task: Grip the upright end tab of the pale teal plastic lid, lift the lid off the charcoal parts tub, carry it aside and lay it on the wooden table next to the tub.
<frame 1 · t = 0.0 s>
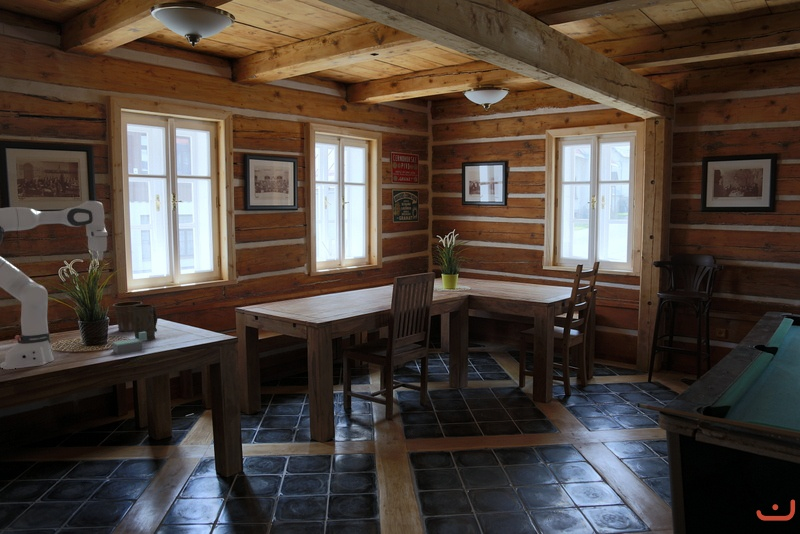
hand: (97, 259, 318), 48 cm above the table, tool pointing down, fingers open, 8 cm apart
part a: (121, 352, 319), resting on tub
part b: (133, 350, 323), resting on tub
tub: (127, 352, 321), on the table
plant pot: (129, 330, 377), on the table
lid: (127, 342, 320), point 5 cm above the table, touching tub
beer stein: (147, 339, 350), on the table
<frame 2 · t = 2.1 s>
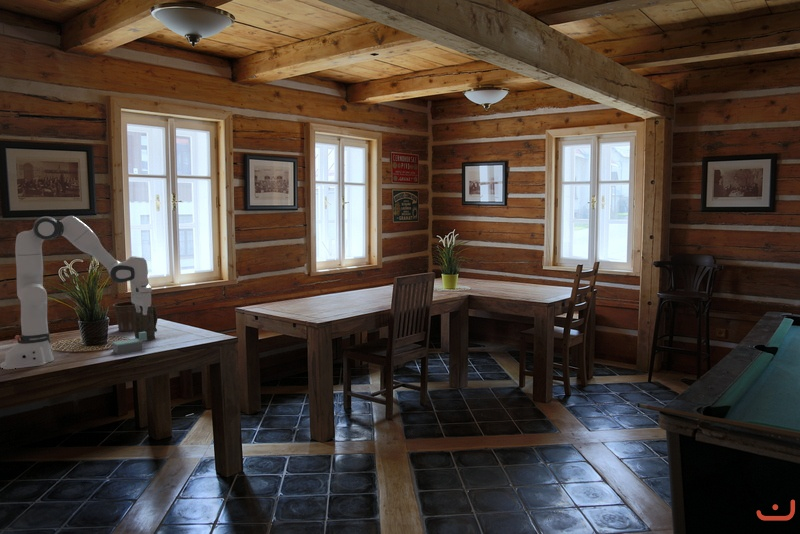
hand: (141, 313, 324), 19 cm above the table, tool pointing down, fingers open, 8 cm apart
nothing on the table moved.
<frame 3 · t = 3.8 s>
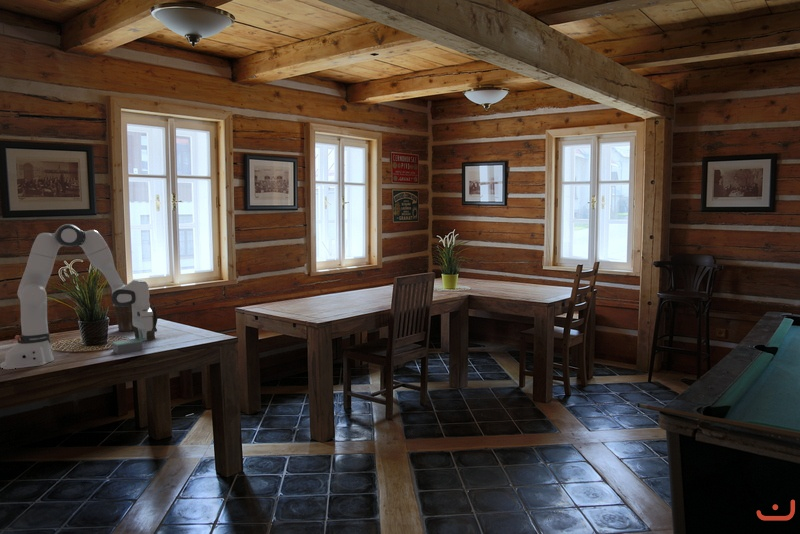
hand: (142, 337, 325), 7 cm above the table, tool pointing down, fingers closed on lid, 3 cm apart
lid: (127, 342, 320), point 5 cm above the table, touching gripper, tub
everything else where it was.
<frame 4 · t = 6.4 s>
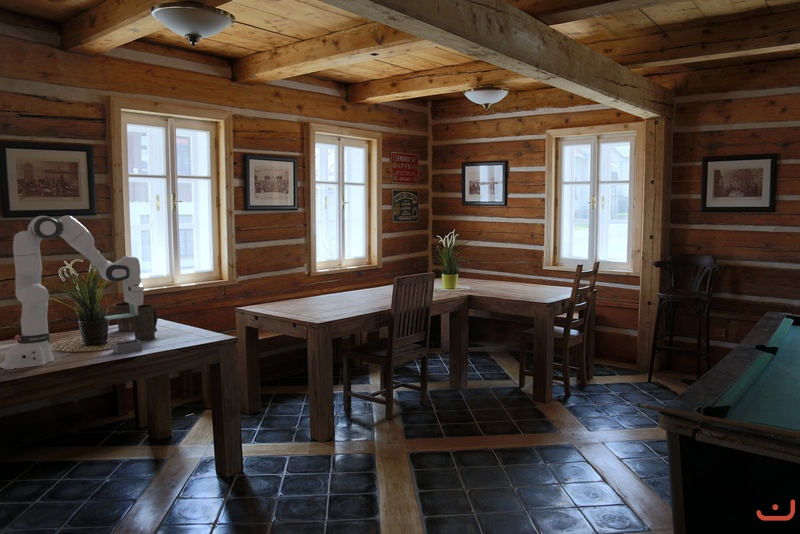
hand: (134, 312, 331), 19 cm above the table, tool pointing down, fingers closed on lid, 3 cm apart
lid: (118, 317, 326), point 17 cm above the table, touching gripper
everything else where it was.
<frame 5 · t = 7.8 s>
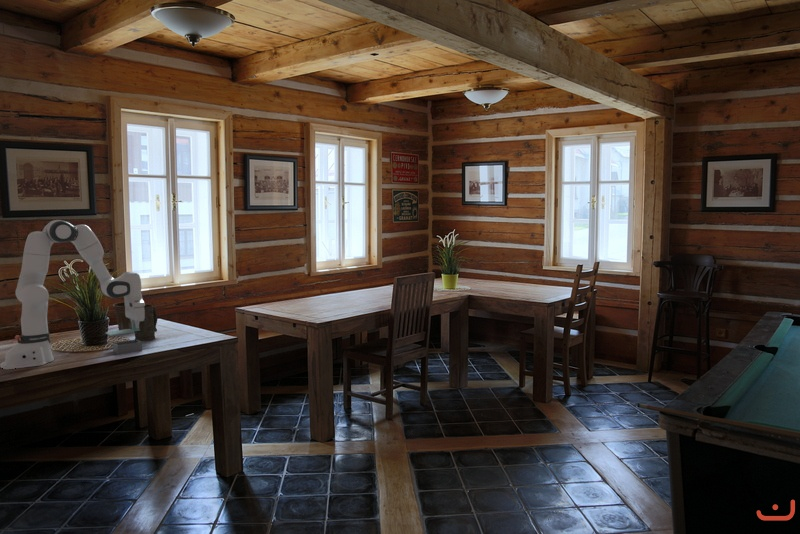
hand: (135, 327, 332), 10 cm above the table, tool pointing down, fingers closed on lid, 3 cm apart
lid: (120, 332, 327), point 9 cm above the table, touching gripper
everything else where it was.
when the fingers open (5 cm above the table, at t = 9.1 s): lid drops 3 cm, on the table.
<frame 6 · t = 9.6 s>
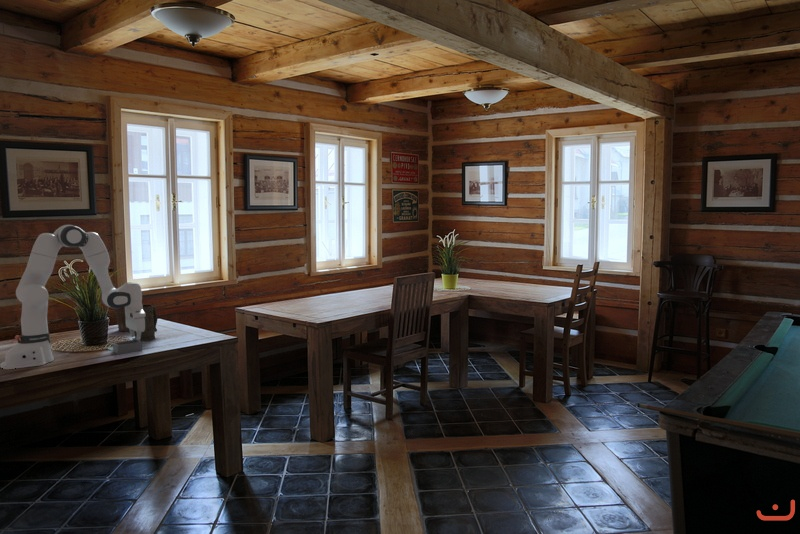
hand: (135, 337, 333), 5 cm above the table, tool pointing down, fingers open, 8 cm apart
lid: (121, 348, 328), on the table
everything else where it was.
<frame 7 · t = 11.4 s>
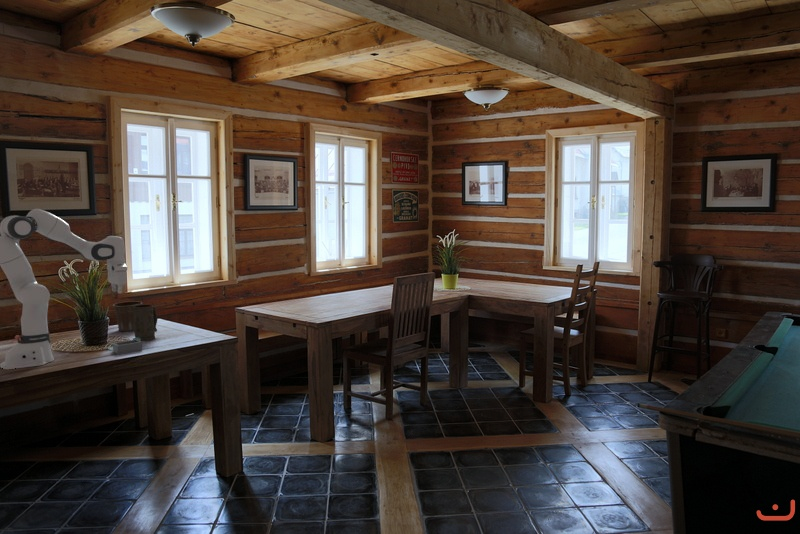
hand: (117, 292, 330), 29 cm above the table, tool pointing down, fingers open, 8 cm apart
nothing on the table moved.
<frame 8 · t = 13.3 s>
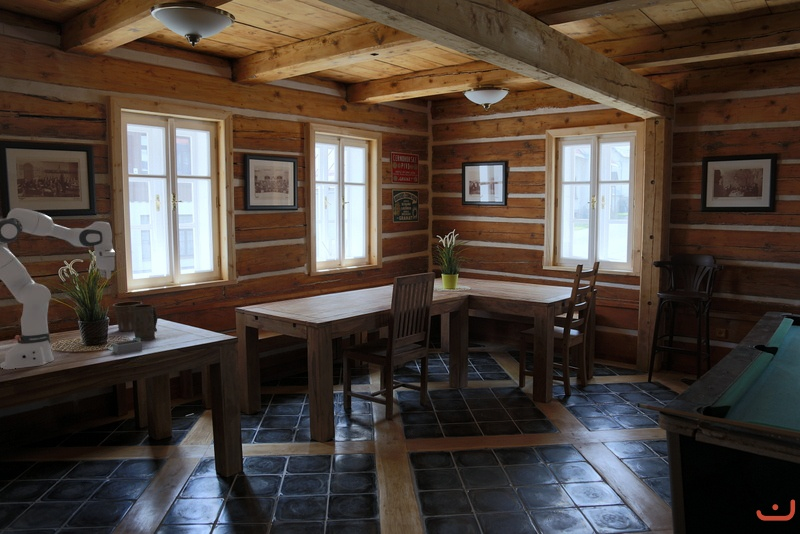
hand: (105, 278, 329), 37 cm above the table, tool pointing down, fingers open, 8 cm apart
nothing on the table moved.
at the end: lid inside the target area (0.7 cm from its centre), on the table; lid touching table; the gripper is holding nothing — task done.
